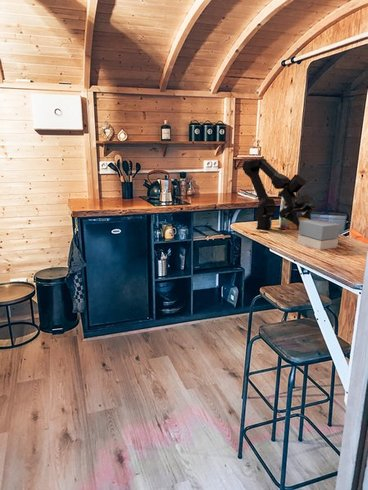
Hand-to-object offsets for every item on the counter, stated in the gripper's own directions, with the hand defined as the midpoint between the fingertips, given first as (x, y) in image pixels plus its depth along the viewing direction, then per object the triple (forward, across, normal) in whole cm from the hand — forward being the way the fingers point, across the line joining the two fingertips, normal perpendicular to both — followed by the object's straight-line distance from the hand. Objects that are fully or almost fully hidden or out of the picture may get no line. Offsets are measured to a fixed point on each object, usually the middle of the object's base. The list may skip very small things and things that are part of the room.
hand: (305, 226), depth 178 cm
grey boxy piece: (+6, 0, -2) cm, 6 cm away
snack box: (-17, +18, +27) cm, 36 cm away
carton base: (+10, 0, 0) cm, 11 cm away
